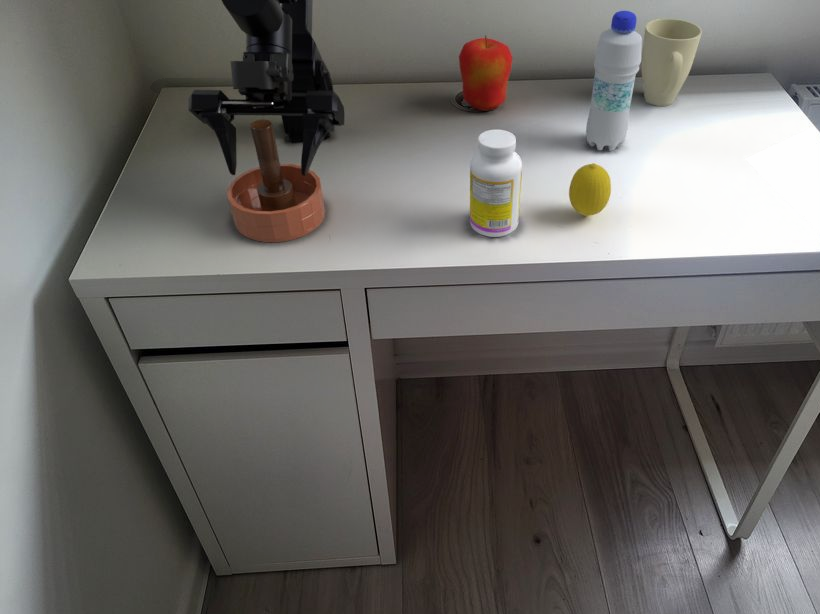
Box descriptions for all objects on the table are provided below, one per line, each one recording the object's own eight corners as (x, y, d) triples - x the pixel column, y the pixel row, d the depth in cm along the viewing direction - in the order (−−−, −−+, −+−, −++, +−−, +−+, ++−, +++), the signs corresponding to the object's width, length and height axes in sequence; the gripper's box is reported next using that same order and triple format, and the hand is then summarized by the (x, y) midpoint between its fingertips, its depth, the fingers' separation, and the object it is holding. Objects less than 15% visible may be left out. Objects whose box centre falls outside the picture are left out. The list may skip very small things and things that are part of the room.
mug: (617, 98, 123) (629, 27, 115) (657, 83, 128) (671, 14, 119) (665, 123, 117) (681, 50, 109) (705, 106, 121) (723, 35, 113)
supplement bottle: (490, 205, 100) (493, 119, 91) (528, 222, 97) (535, 136, 88) (459, 226, 96) (459, 139, 87) (498, 245, 93) (502, 157, 84)
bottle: (630, 138, 113) (655, 7, 99) (618, 158, 109) (642, 24, 95) (590, 130, 115) (608, 0, 101) (577, 148, 111) (594, 16, 97)
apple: (454, 114, 119) (453, 42, 110) (465, 92, 125) (465, 22, 116) (504, 120, 117) (507, 48, 109) (513, 97, 123) (517, 27, 115)
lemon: (562, 205, 100) (569, 154, 94) (601, 203, 100) (610, 152, 94) (570, 228, 96) (576, 176, 90) (610, 226, 96) (619, 174, 91)
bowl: (320, 186, 103) (315, 158, 100) (329, 235, 94) (325, 206, 91) (233, 197, 101) (226, 169, 97) (235, 248, 92) (227, 219, 89)
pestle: (256, 211, 97) (235, 123, 88) (285, 199, 99) (267, 112, 90) (273, 226, 95) (253, 137, 86) (303, 213, 97) (286, 125, 88)
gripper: (170, 24, 83) (169, 157, 83) (329, 25, 83) (328, 158, 83) (205, 62, 94) (204, 179, 94) (345, 64, 94) (344, 181, 94)
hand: (268, 174), depth 91 cm, fingers open, 9 cm apart
